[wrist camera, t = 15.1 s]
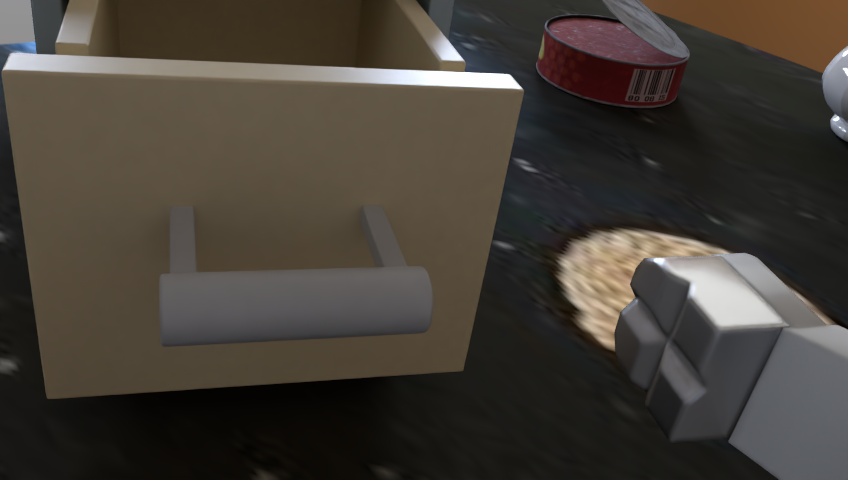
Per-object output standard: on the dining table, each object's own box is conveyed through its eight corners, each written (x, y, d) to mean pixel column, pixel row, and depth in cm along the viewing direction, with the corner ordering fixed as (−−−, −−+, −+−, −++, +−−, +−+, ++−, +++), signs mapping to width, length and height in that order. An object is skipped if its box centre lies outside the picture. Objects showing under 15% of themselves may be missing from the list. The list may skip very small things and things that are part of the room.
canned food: (576, 110, 63) (639, -8, 62) (677, 153, 56) (752, 21, 55) (482, 52, 56) (552, -85, 54) (585, 93, 48) (669, -63, 47)
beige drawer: (513, 486, 23) (602, 176, 18) (21, 542, 19) (-47, 173, 14) (374, 165, 38) (400, -50, 33) (88, 162, 35) (67, -79, 30)
